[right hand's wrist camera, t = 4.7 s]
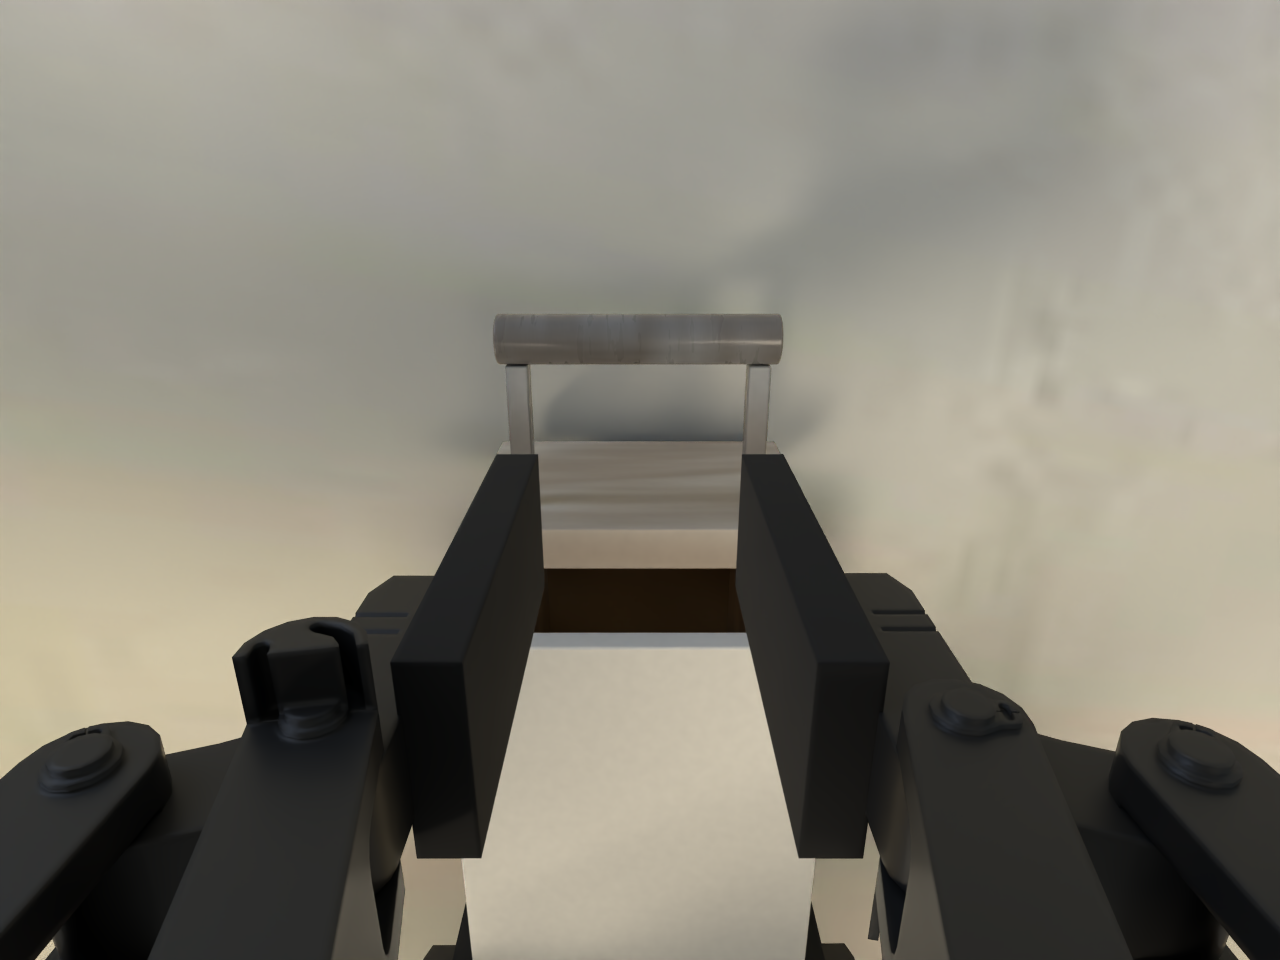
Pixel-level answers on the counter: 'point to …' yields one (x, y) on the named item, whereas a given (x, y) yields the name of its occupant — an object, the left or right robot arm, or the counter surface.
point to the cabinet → (639, 810)
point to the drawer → (639, 476)
